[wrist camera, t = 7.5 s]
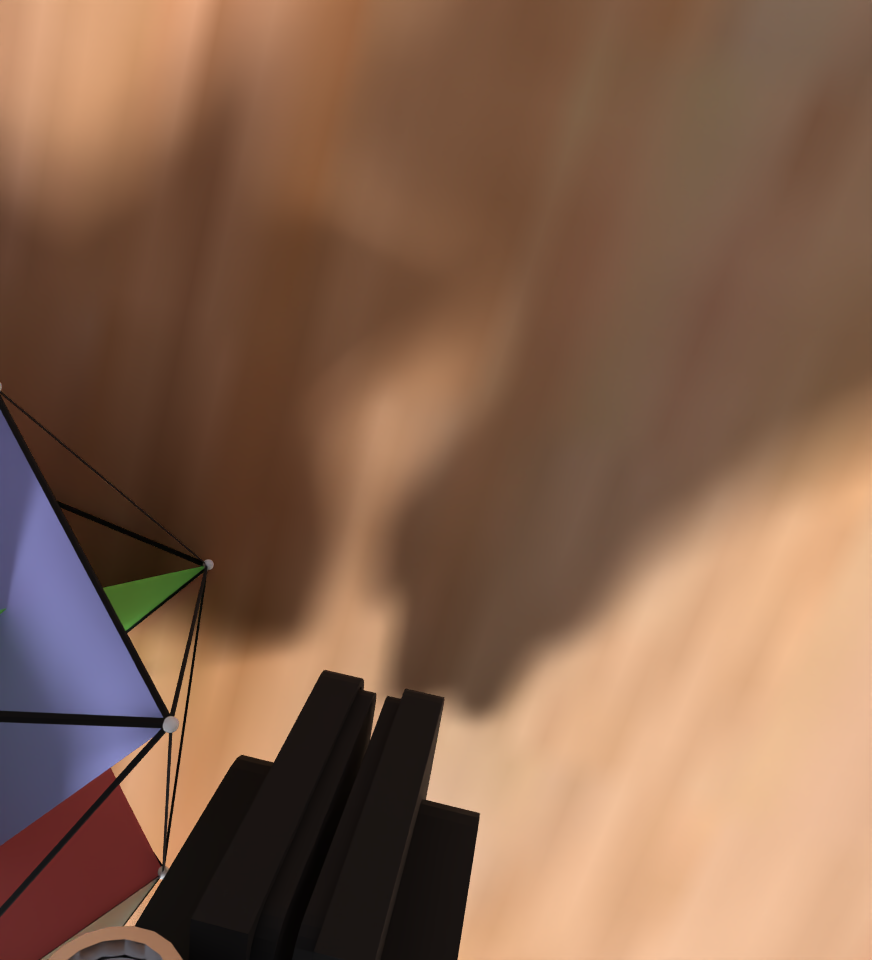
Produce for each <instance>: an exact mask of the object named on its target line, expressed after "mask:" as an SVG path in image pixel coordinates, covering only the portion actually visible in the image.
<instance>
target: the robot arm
mask: <svg viewBox="0 0 872 960" xmlns="http://www.w3.org/2000/svg"><path fill="white" fill-rule="evenodd" d="M375 704H376V693H373V692H369V691H365V690H364V680H363V679H362V678H357V677H353V676H349V675H344V674H340V673H336V672H332V671H327V670H324V671H323V672H322V673H321V675H320V677H319V679H318V680H317V682H316V684H315V686H314V688H313V690H312V692H311V694H310V696H309V697H308V699H307V701H306V703H305V705H304V707H303V709H302V711H301V712H300V714H299V716H298V718H297V720H296V722H295V724H294V726H293V728H292V729H291V731H290V733H289V735H288V737H287V739H286V741H285V743H284V744H283V746H282V748H281V750H280V752H279V754H278V756H277V758H276V760H275V761H274V763H273V762H269V761H265V760H261V759H257V758H252V757H248V756H244V755H241V756H239V757H238V758H237V759H236V760H235V761H234V763H233V764H232V766H231V767H230V769H229V770H228V772H227V774H226V775H225V777H224V779H223V780H222V782H221V784H220V785H219V787H218V789H217V790H216V792H215V794H214V795H213V797H212V799H211V800H210V802H209V804H208V805H207V807H206V808H205V810H204V812H203V813H202V815H201V817H200V818H199V820H198V822H197V823H196V825H195V827H194V828H193V830H192V832H191V833H190V835H189V837H188V838H187V840H186V842H185V843H184V845H183V847H182V848H181V850H180V852H179V853H178V855H177V857H176V858H175V860H174V862H173V863H172V865H171V867H170V868H169V870H168V872H167V873H166V875H165V877H164V878H163V880H162V882H161V883H160V885H159V886H158V888H157V890H156V891H155V893H154V895H153V896H152V898H151V900H150V901H149V903H148V905H147V906H146V908H145V910H144V911H143V913H142V915H141V916H140V918H139V920H138V921H137V923H136V925H135V926H115V927H107V928H103V929H100V930H96V931H92V932H89V933H85V934H84V935H82V936H80V937H78V938H76V939H74V940H73V941H71V942H69V943H67V944H65V945H63V946H62V947H61V948H60V949H59V950H57V951H56V952H55V953H54V954H53V955H52V956H51V957H50V958H48V959H47V960H457V959H458V953H459V946H460V940H461V933H462V927H463V921H464V914H465V908H466V901H467V895H468V889H469V882H470V876H471V869H472V863H473V856H474V850H475V844H476V837H477V831H478V824H479V816H480V813H477V812H473V811H469V810H465V809H461V808H456V807H452V806H448V805H444V804H440V803H436V802H432V801H428V800H426V796H427V790H428V785H429V780H430V774H431V769H432V764H433V758H434V753H435V748H436V743H437V737H438V732H439V727H440V721H441V716H442V711H443V705H444V697H440V696H435V695H431V694H427V693H422V692H418V691H414V690H409V689H405V690H404V693H403V695H402V698H401V699H399V698H395V697H390V696H387V698H386V700H385V702H384V705H383V708H382V710H381V713H380V716H379V718H378V721H377V724H376V726H375V729H374V732H373V734H372V737H371V730H372V723H373V717H374V710H375ZM370 737H371V740H370Z"/></svg>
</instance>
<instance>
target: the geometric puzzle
mask: <svg viewBox="0 0 872 960" xmlns="http://www.w3.org/2000/svg"><path fill="white" fill-rule="evenodd" d="M1 389H2V384H1V383H0V394H1V395H3V396H4V397H5V398H6V399H7V400H9V401H10V402H11V403H12V404H13V405H15V406H16V407H17V408H18V409H19V410H21V411H22V412H23V413H24V414H25V415H27V416H28V417H29V418H30V419H31V420H33V421H34V422H35V423H36V424H37V425H39V426H40V427H41V428H42V429H43V430H45V431H46V432H47V433H48V434H49V435H51V436H52V437H53V438H54V439H55V440H57V441H58V442H59V443H60V444H61V445H63V446H64V447H65V448H66V449H67V450H69V451H70V452H71V453H72V454H73V455H75V456H76V457H77V458H78V459H79V460H81V461H82V462H83V463H84V464H85V465H87V466H88V467H89V468H90V469H91V470H93V471H94V472H95V473H96V474H97V475H99V476H100V477H101V478H102V479H103V480H105V481H106V482H107V483H108V484H109V485H111V486H112V487H113V488H114V489H115V490H117V491H118V492H119V493H120V494H121V495H122V496H124V497H125V498H126V499H127V500H128V501H130V502H131V503H132V504H133V505H134V506H136V507H137V508H138V509H139V510H140V511H142V512H143V513H144V514H145V515H146V516H148V517H149V518H150V519H151V520H152V521H154V522H155V523H156V524H157V525H158V526H160V527H161V528H162V529H163V530H164V531H166V532H167V533H168V534H169V535H170V536H172V537H173V538H174V539H175V540H176V541H178V542H179V543H180V544H181V545H182V546H184V547H185V548H186V549H187V550H188V551H190V552H191V553H192V554H193V555H194V556H196V557H197V558H198V559H199V560H198V559H196V558H193V557H191V556H189V555H186V554H184V553H181V552H179V551H177V550H174V549H172V548H169V547H167V546H165V545H162V544H160V543H157V542H155V541H153V540H150V539H148V538H145V537H143V536H141V535H138V534H136V533H133V532H131V531H128V530H126V529H124V528H121V527H119V526H116V525H114V524H112V523H109V522H107V521H104V520H102V519H100V518H97V517H95V516H92V515H90V514H88V513H85V512H83V511H80V510H78V509H76V508H73V507H71V506H68V505H66V504H63V503H61V502H59V501H56V499H55V497H54V495H53V493H52V491H51V489H50V488H49V486H48V484H47V482H46V480H45V478H44V476H43V474H42V473H41V471H40V469H39V467H38V465H37V463H36V461H35V459H34V457H33V456H32V454H31V452H30V450H29V448H28V446H27V444H26V442H25V441H24V439H23V437H22V435H21V433H20V431H19V429H18V427H17V425H16V424H15V422H14V420H13V418H12V416H11V414H10V412H9V410H8V409H7V407H6V405H5V403H4V401H3V399H2V397H1V395H0V960H47V959H48V958H50V957H51V956H52V955H53V954H54V953H55V952H56V951H57V950H59V949H60V948H61V947H62V946H63V945H65V944H67V943H69V942H71V941H73V940H74V939H76V938H78V937H80V936H82V935H84V934H85V933H89V932H92V931H96V930H100V929H103V928H107V927H115V926H124V925H125V924H126V923H127V921H128V920H129V919H130V917H131V916H132V915H133V913H134V912H135V911H136V909H137V908H138V907H139V905H140V904H141V903H142V901H143V900H144V899H145V897H146V896H147V895H148V893H149V892H150V891H151V889H152V888H153V887H154V886H155V884H156V883H157V882H158V880H159V879H163V878H164V877H165V875H166V873H167V872H168V870H169V868H168V867H167V866H165V863H166V856H167V849H168V842H169V835H170V828H171V821H172V814H173V807H174V800H175V793H176V786H177V779H178V772H179V765H180V758H181V751H182V744H183V737H184V730H185V723H186V717H187V710H188V703H189V696H190V689H191V682H192V675H193V668H194V661H195V654H196V647H197V640H198V633H199V626H200V619H201V612H202V605H203V598H204V591H205V584H206V577H207V570H211V569H212V568H213V566H214V563H213V561H212V560H210V559H207V560H205V561H203V560H202V559H201V558H199V557H198V556H197V555H196V554H195V553H193V552H192V551H191V550H190V549H189V548H187V547H186V546H185V545H184V544H183V543H181V542H180V541H179V540H178V539H177V538H176V537H174V536H173V535H172V534H171V533H170V532H168V531H167V530H166V529H165V528H164V527H162V526H161V525H160V524H159V523H158V522H156V521H155V520H154V519H153V518H152V517H150V516H149V515H148V514H147V513H146V512H144V511H143V510H142V509H141V508H140V507H139V506H137V505H136V504H135V503H134V502H133V501H131V500H130V499H129V498H128V497H127V496H125V495H124V494H123V493H122V492H121V491H119V490H118V489H117V488H116V487H115V486H113V485H112V484H111V483H110V482H109V481H107V480H106V479H105V478H104V477H103V476H102V475H100V474H99V473H98V472H97V471H96V470H94V469H93V468H92V467H91V466H90V465H88V464H87V463H86V462H85V461H84V460H82V459H81V458H80V457H79V456H78V455H76V454H75V453H74V452H73V451H72V450H71V449H69V448H68V447H67V446H66V445H65V444H63V443H62V442H61V441H60V440H59V439H57V438H56V437H55V436H54V435H53V434H51V433H50V432H49V431H48V430H47V429H45V428H44V427H43V426H42V425H41V424H39V423H38V422H37V421H36V420H35V419H34V418H32V417H31V416H30V415H29V414H28V413H26V412H25V411H24V410H23V409H22V408H20V407H19V406H18V405H17V404H16V403H14V402H13V401H12V400H11V399H10V398H8V397H7V396H6V395H5V394H4V393H2V392H1ZM60 507H61V508H63V509H65V510H68V511H70V512H73V513H75V514H78V515H80V516H82V517H85V518H87V519H90V520H92V521H94V522H97V523H99V524H102V525H104V526H106V527H109V528H111V529H114V530H116V531H118V532H121V533H123V534H126V535H128V536H130V537H133V538H135V539H138V540H140V541H142V542H145V543H147V544H150V545H152V546H155V547H157V548H159V549H162V550H164V551H167V552H169V553H171V554H174V555H176V556H179V557H181V558H183V559H186V560H188V561H191V562H193V563H195V564H198V565H200V567H197V568H192V569H187V570H183V571H178V572H173V573H169V574H164V575H159V576H155V577H150V578H146V579H141V580H136V581H132V582H127V583H122V584H118V585H113V586H108V587H104V588H103V587H102V585H101V584H100V582H99V580H98V578H97V576H96V574H95V572H94V570H93V568H92V567H91V565H90V563H89V561H88V559H87V557H86V555H85V553H84V552H83V550H82V548H81V546H80V544H79V542H78V540H77V538H76V537H75V535H74V533H73V531H72V529H71V527H70V525H69V523H68V521H67V520H66V518H65V516H64V514H63V512H62V510H61V508H60ZM203 572H204V573H203ZM202 573H203V577H202V582H201V586H200V590H199V594H198V598H197V603H196V607H195V611H194V615H193V620H192V624H191V628H190V632H189V636H188V641H187V645H186V649H185V653H184V658H183V662H182V666H181V670H180V674H179V679H178V683H177V687H176V691H175V696H174V700H173V704H172V708H171V712H170V713H169V711H168V710H167V708H166V706H165V704H164V702H163V700H162V698H161V696H160V695H159V693H158V691H157V689H156V687H155V685H154V683H153V681H152V680H151V678H150V676H149V674H148V672H147V670H146V668H145V666H144V664H143V663H142V661H141V659H140V657H139V655H138V653H137V651H136V649H135V648H134V646H133V644H132V642H131V640H130V638H129V636H128V634H127V633H128V632H129V631H130V630H132V629H133V628H134V627H135V626H137V625H138V624H139V623H140V622H142V621H143V620H144V619H145V618H147V617H148V616H149V615H150V614H152V613H153V612H154V611H156V610H157V609H158V608H159V607H161V606H162V605H163V604H164V603H166V602H167V601H168V600H169V599H171V598H172V597H173V596H174V595H176V594H177V593H178V592H179V591H181V590H182V589H183V588H184V587H186V586H187V585H188V584H189V583H191V582H192V581H193V580H194V579H196V578H197V577H198V576H199V575H201V574H202ZM200 601H201V603H200ZM199 605H200V610H199ZM198 610H199V617H198V624H197V631H196V638H195V645H194V652H193V658H192V665H191V672H190V679H189V686H188V693H187V700H186V707H185V714H184V721H183V728H182V735H181V742H180V748H179V755H178V762H177V769H176V776H175V783H174V790H173V797H172V804H171V811H170V818H169V825H168V832H167V819H168V801H169V783H170V765H171V747H172V732H174V731H176V730H177V729H178V726H179V721H178V719H177V718H176V717H174V716H175V711H176V707H177V702H178V698H179V694H180V689H181V685H182V680H183V676H184V671H185V667H186V663H187V658H188V654H189V649H190V645H191V641H192V636H193V632H194V627H195V623H196V619H197V614H198ZM166 732H167V733H169V746H168V766H167V786H166V806H165V826H164V846H163V865H162V864H161V862H160V861H159V859H158V858H157V856H156V855H155V853H154V852H153V850H152V848H151V846H150V844H149V842H148V840H147V838H146V836H145V834H144V833H143V831H142V829H141V827H140V825H139V823H138V821H137V819H136V817H135V815H134V813H133V811H132V809H131V807H130V805H129V803H128V801H127V799H126V797H125V795H124V793H123V791H122V789H121V787H120V785H119V784H120V783H121V782H122V781H123V780H124V778H125V777H126V776H127V775H128V774H129V773H130V772H131V771H132V769H133V768H134V767H135V766H136V765H137V764H138V763H139V762H140V761H141V759H142V758H143V757H144V756H145V755H146V754H147V753H148V752H149V750H150V749H151V748H152V747H153V746H154V745H155V744H156V743H157V742H158V740H159V739H160V738H161V737H162V736H163V735H164V734H165V733H166ZM152 737H153V738H152ZM151 738H152V739H151ZM150 739H151V740H150ZM148 740H150V741H149V742H148V744H147V745H146V746H145V747H144V748H143V749H142V750H141V751H140V752H139V754H138V755H137V756H136V757H135V758H134V759H133V760H132V761H131V763H130V764H129V765H128V766H127V767H126V768H125V769H124V770H123V771H122V773H121V774H120V775H119V776H118V777H117V778H116V777H115V776H114V774H113V772H112V770H111V768H110V767H112V766H113V765H115V764H116V763H117V762H119V761H120V760H122V759H123V758H124V757H126V756H127V755H129V754H130V753H131V752H133V751H134V750H136V749H137V748H138V747H140V746H141V745H143V744H144V743H145V742H147V741H148ZM166 837H167V838H166Z"/></svg>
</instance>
